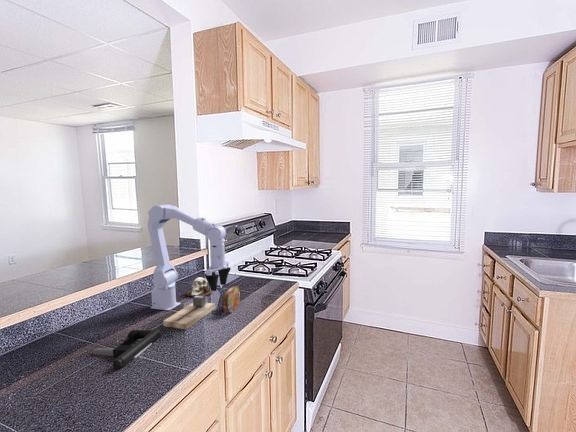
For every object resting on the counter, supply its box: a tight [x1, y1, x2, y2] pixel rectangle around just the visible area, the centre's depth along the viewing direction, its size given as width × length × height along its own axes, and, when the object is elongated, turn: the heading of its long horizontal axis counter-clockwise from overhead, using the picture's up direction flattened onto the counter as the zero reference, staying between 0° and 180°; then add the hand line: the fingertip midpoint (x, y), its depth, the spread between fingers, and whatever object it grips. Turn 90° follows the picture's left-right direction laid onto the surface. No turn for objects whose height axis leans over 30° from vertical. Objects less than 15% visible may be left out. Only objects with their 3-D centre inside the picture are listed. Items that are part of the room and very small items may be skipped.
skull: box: [185, 276, 213, 298], centre depth 149 cm, size 12×10×10 cm
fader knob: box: [192, 295, 207, 307], centre depth 128 cm, size 4×3×4 cm
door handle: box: [91, 328, 161, 369], centre depth 99 cm, size 3×20×16 cm
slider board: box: [163, 302, 216, 330], centre depth 123 cm, size 10×20×2 cm, turn 163°
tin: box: [222, 285, 242, 313], centre depth 130 cm, size 15×3×8 cm, turn 168°
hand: (218, 287), depth 128 cm, fingers open, 7 cm apart
